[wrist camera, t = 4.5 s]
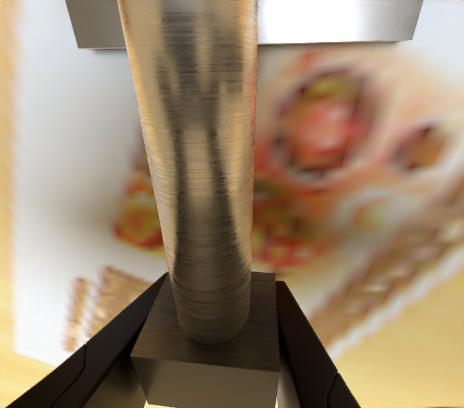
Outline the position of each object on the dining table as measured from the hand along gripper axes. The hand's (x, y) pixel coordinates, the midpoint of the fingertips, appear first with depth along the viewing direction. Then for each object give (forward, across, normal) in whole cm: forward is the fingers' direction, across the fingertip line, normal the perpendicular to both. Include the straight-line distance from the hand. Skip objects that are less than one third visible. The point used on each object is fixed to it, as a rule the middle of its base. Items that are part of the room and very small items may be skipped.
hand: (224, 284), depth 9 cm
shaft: (-1, 0, -9) cm, 9 cm away
